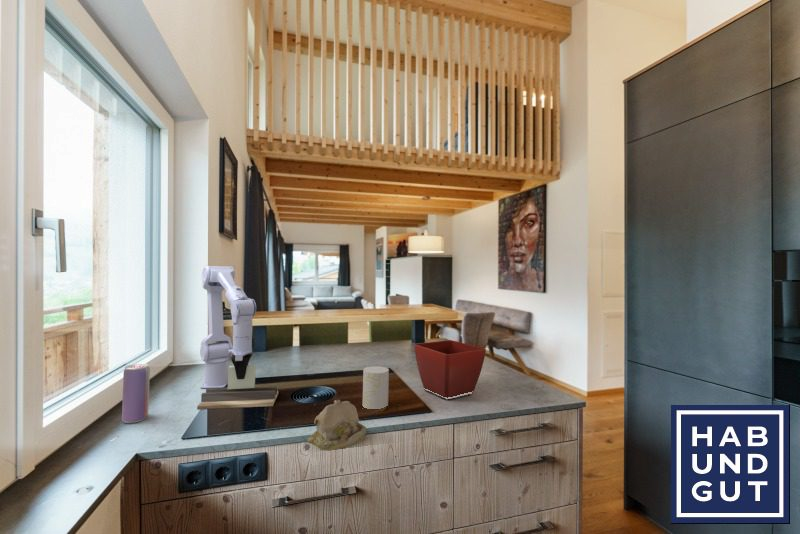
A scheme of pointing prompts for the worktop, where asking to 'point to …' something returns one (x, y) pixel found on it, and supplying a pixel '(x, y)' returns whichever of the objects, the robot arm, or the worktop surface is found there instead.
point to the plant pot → (449, 366)
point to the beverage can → (135, 393)
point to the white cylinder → (375, 387)
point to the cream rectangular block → (241, 383)
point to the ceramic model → (337, 427)
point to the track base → (238, 397)
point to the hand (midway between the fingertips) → (241, 377)
